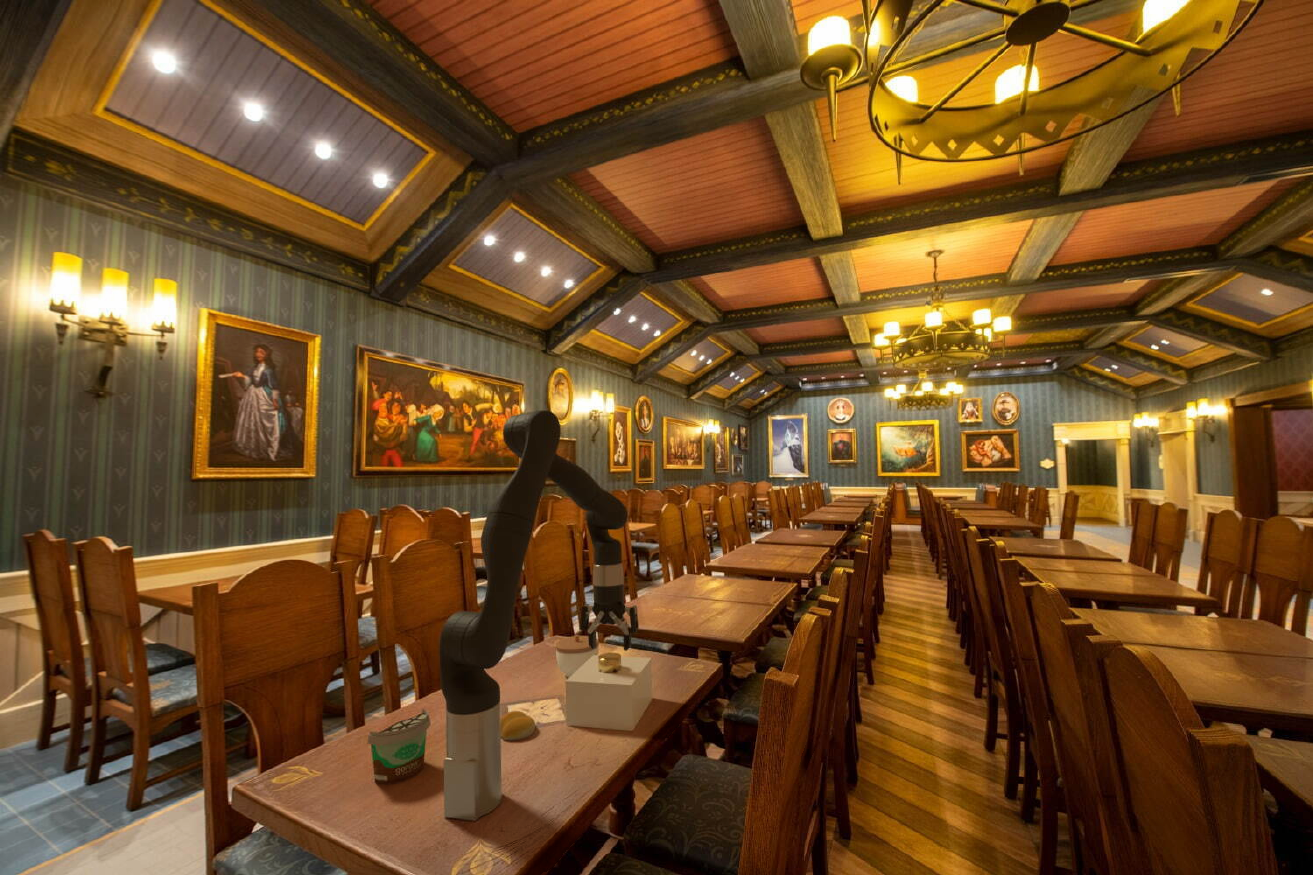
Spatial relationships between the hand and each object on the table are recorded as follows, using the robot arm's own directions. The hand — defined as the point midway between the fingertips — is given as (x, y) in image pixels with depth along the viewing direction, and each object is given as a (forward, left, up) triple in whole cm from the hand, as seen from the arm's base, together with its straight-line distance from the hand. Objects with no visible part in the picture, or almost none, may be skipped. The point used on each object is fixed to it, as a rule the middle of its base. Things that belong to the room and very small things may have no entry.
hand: (610, 648), depth 133 cm
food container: (-34, +31, -15) cm, 48 cm away
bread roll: (-14, +18, -15) cm, 28 cm away
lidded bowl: (+22, +18, -15) cm, 32 cm away
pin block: (0, 0, -15) cm, 15 cm away
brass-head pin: (0, 0, -14) cm, 14 cm away
